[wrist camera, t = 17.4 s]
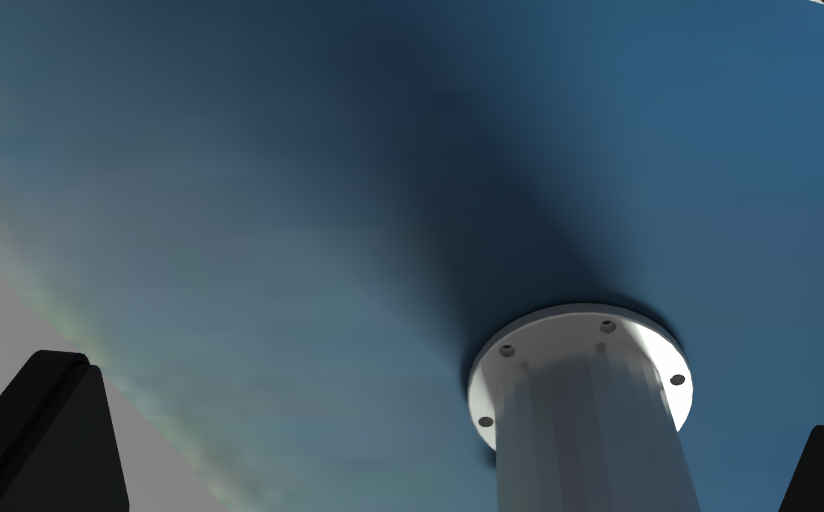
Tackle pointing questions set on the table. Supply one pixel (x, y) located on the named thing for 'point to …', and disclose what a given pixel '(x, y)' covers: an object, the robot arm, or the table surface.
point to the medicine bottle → (819, 1)
